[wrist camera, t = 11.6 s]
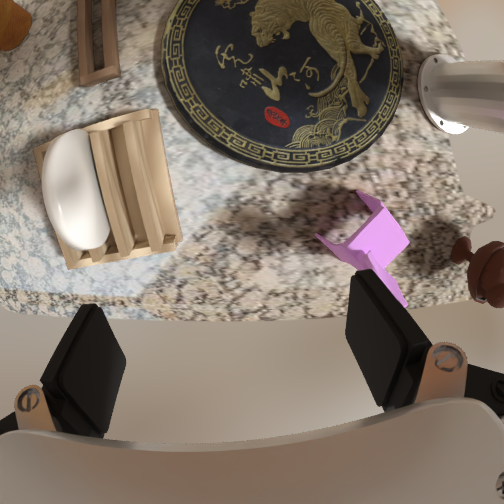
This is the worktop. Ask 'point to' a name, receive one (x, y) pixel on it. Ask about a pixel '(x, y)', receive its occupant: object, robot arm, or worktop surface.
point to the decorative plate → (283, 78)
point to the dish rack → (129, 190)
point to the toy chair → (373, 244)
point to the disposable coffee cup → (13, 24)
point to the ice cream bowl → (483, 270)
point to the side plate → (74, 192)
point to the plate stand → (86, 43)
